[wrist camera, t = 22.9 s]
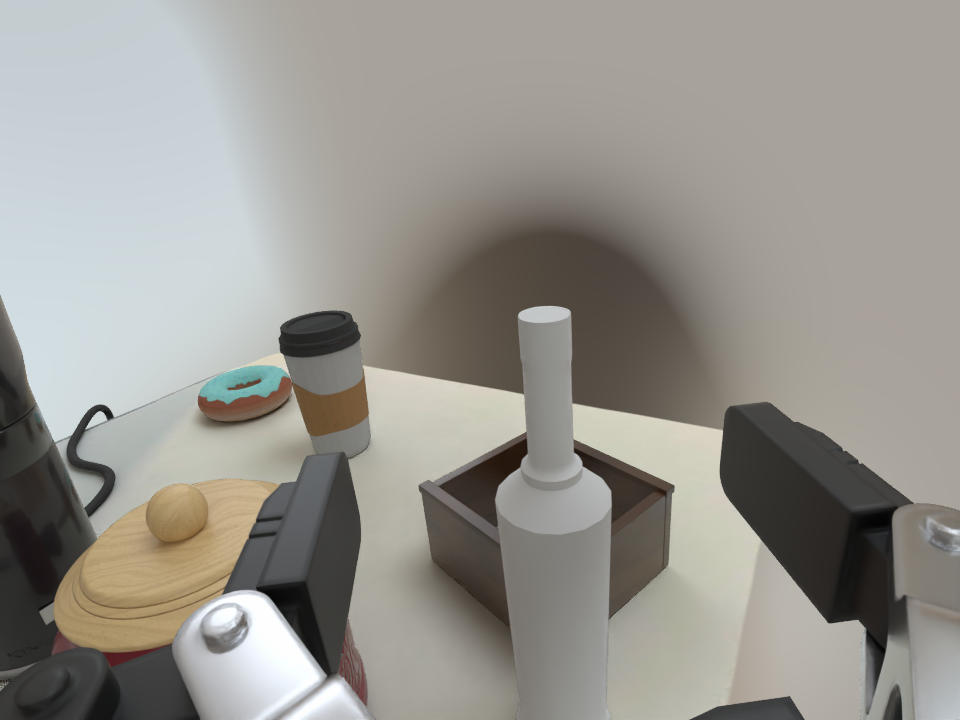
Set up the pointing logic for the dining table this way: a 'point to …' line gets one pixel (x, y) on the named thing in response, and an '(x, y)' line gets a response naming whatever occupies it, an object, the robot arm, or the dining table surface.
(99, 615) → the kitchen canister
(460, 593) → the dining table surface
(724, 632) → the dining table surface
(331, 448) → the coffee cup
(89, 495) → the dining table surface
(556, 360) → the bottle
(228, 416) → the donut
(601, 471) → the crate
